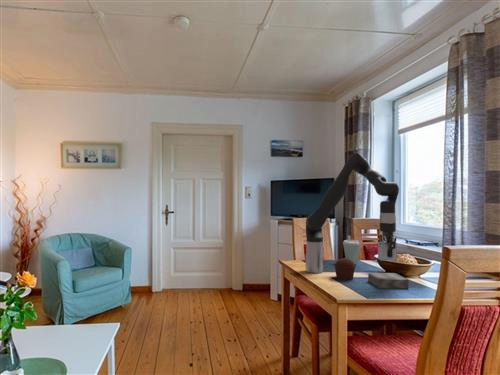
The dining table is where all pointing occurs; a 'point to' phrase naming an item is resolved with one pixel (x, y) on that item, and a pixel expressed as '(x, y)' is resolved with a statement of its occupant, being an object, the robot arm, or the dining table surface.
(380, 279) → the plinth
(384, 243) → the medicine box
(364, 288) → the dining table surface
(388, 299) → the dining table surface
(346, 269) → the muffin
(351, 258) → the disposable coffee cup
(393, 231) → the robot arm
